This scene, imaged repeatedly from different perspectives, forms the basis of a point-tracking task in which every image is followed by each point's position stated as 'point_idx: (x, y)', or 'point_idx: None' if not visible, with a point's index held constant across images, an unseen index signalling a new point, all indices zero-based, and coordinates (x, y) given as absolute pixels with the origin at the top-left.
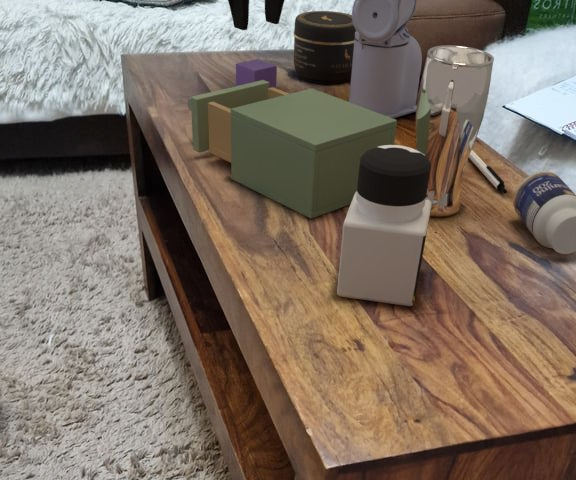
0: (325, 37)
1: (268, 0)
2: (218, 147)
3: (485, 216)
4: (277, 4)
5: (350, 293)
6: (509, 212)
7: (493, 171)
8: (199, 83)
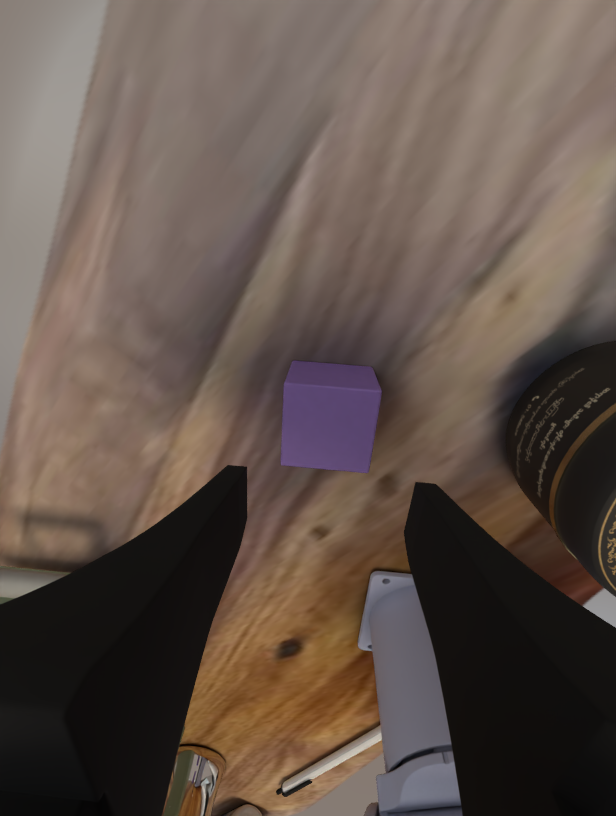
0: (574, 555)
1: (441, 556)
2: None
3: (224, 785)
4: (425, 602)
5: None
6: (251, 793)
7: (301, 787)
8: (253, 230)
